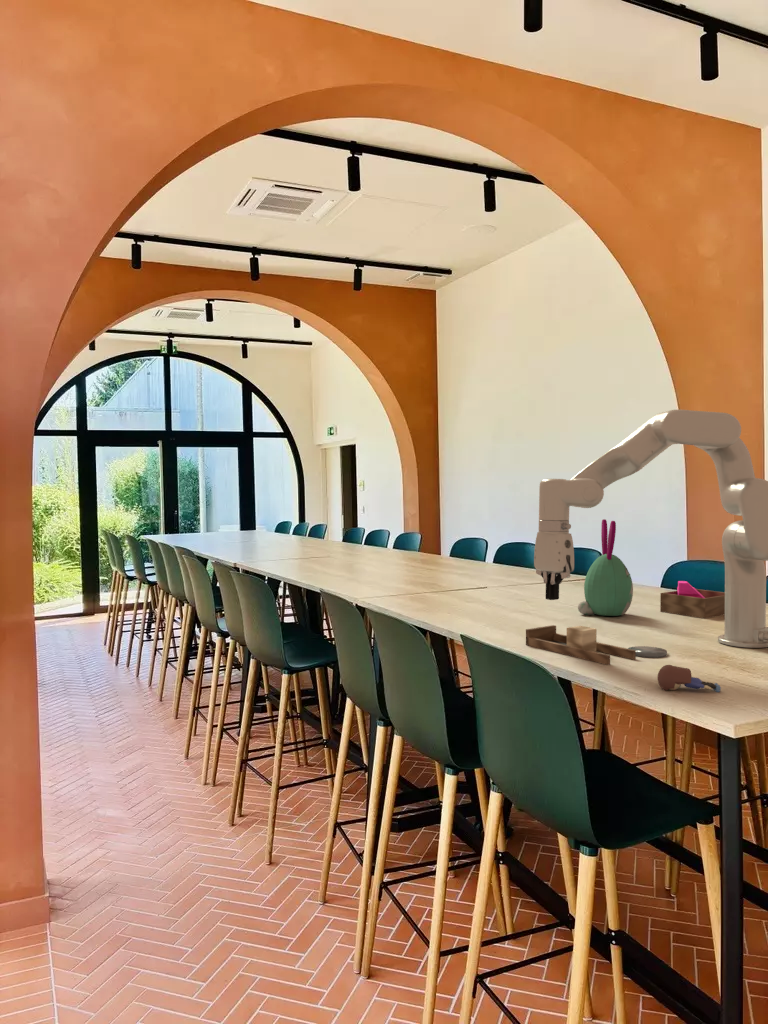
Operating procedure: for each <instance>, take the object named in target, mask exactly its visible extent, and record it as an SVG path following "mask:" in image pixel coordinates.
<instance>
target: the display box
mask: <svg viewBox="0 0 768 1024" xmlns="http://www.w3.org/2000/svg"><path fill="white" fill-rule="evenodd" d="M695 589H696V590H697V591H698V592H699V593H700V594H702V595H703V596H704V597H705V598H697V597H689V596H682V595H677V590H673V591H667V592H660V601H659V602H660V606H659V607H660V612H662V613H667V614H668V613H669V614H674V615H682V616H687V617H694V618H701V619H709V618H714V617H719V616H725V591H724V592H723V591H716V590H715V591H714V590H709V589H706V590H705V589H698V588H695Z"/></svg>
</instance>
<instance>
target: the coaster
mask: <svg viewBox="0 0 768 1024" xmlns="http://www.w3.org/2000/svg"><path fill="white" fill-rule="evenodd" d="M627 649H631V650H636V657H639V658H649V659H651V658H653V659H654V658H657V659H658V658H664V657H665V658H666V657H667V656H668V651H667V650H666V649H664V648H661V647H656V646H647V645H646V646H645V645H637V646H636V645H635V646H629V647H628V648H627Z"/></svg>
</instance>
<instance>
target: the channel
mask: <svg viewBox="0 0 768 1024" xmlns="http://www.w3.org/2000/svg"><path fill="white" fill-rule="evenodd" d="M525 645H526V646H530V647H533V648H537V649H541V650H545V651H550V652H554V653H558V654H562V655H566V656H570V657H574V658H578V659H583V660H585V661H586V660H587V661H592V662H595V663H599V664H603V665H606V666H607V665H610V664H611V656H617V657H621V658H624V659H629V660H636V657H637V656H636V650H631V649H628V648H626V647H622V646H618V645H617V646H616V645H612V644H608V643H603V642H598V641H596V652H593V651H589V650H584V649H580V648H576V647H571V646H567V634H566V635H565V634H561V633H557V625H554V624H551V625H547V626H546V625H545V626H540V627H531V628H526V629H525Z"/></svg>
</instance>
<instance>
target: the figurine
mask: <svg viewBox="0 0 768 1024" xmlns="http://www.w3.org/2000/svg"><path fill="white" fill-rule="evenodd" d="M657 682H658V685H659V686H660V688H661V689H662V690H663V691H676V690H678V689H679V688H681V686H682V685H683V686H684V687H686V688H689V689H694V690H700V689H705V690H713V691H715V693H720V692H721V689H722V688H721V685H719V684H718V683H717V682H715V683H713V682H708V681H703V680H702V679H700V678H699V677H694V676H692V672H691V669H690V668H687V667H681V666H677V665H671V664H665V665H663V666H662V667H661V668H660V669H659V670H658V673H657Z"/></svg>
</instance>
